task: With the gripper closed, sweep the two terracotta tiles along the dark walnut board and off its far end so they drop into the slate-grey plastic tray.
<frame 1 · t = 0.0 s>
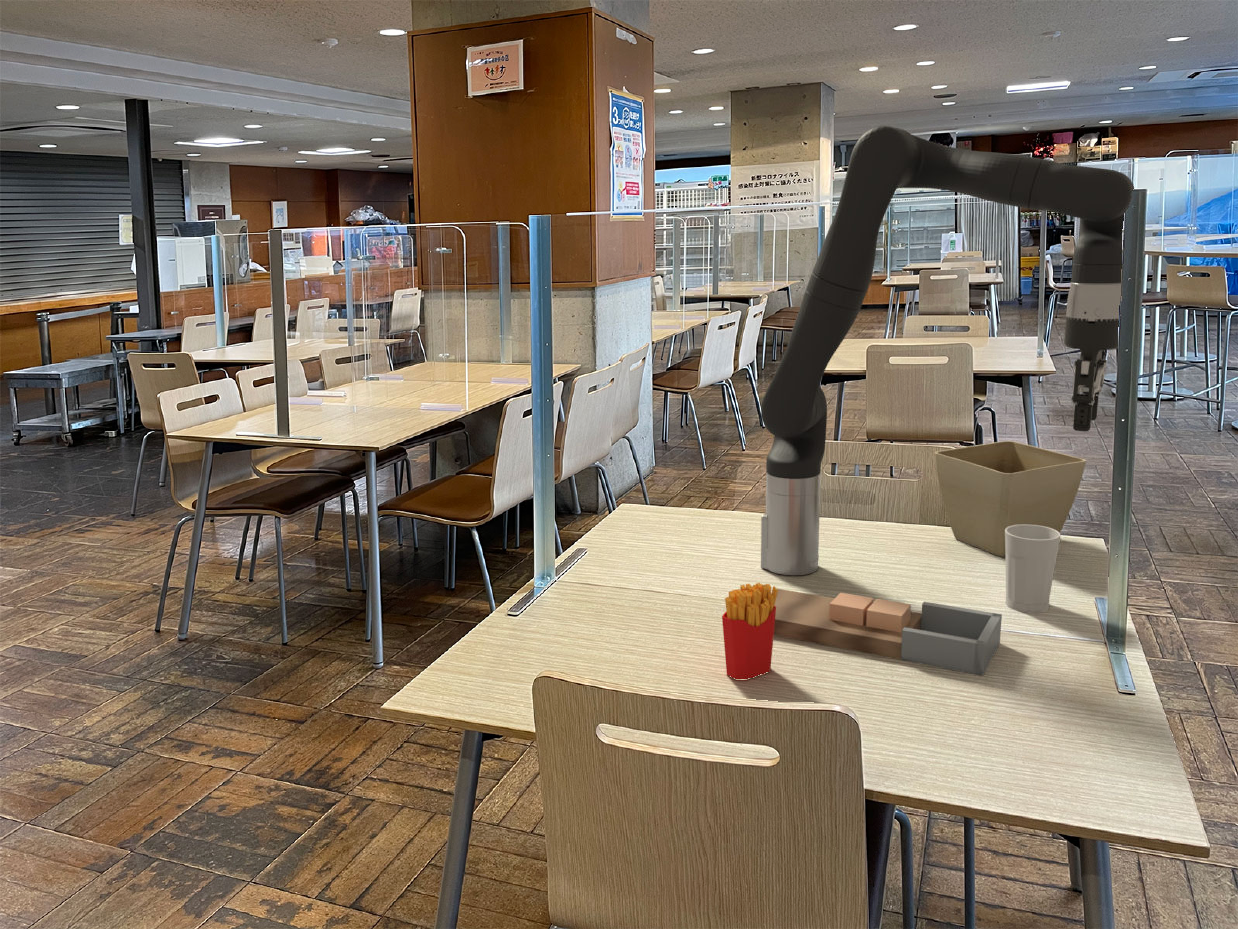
hand: (1084, 425, 150), 29 cm above the table, fingers open, 8 cm apart
tile b: (888, 623, 147), point 2 cm above the table, touching board
cup: (1026, 606, 160), on the table
french fries: (750, 672, 139), on the table
board: (834, 629, 152), on the table
flower pot: (1002, 544, 189), on the table
tile a: (851, 616, 150), point 2 cm above the table, touching board
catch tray: (950, 651, 143), on the table
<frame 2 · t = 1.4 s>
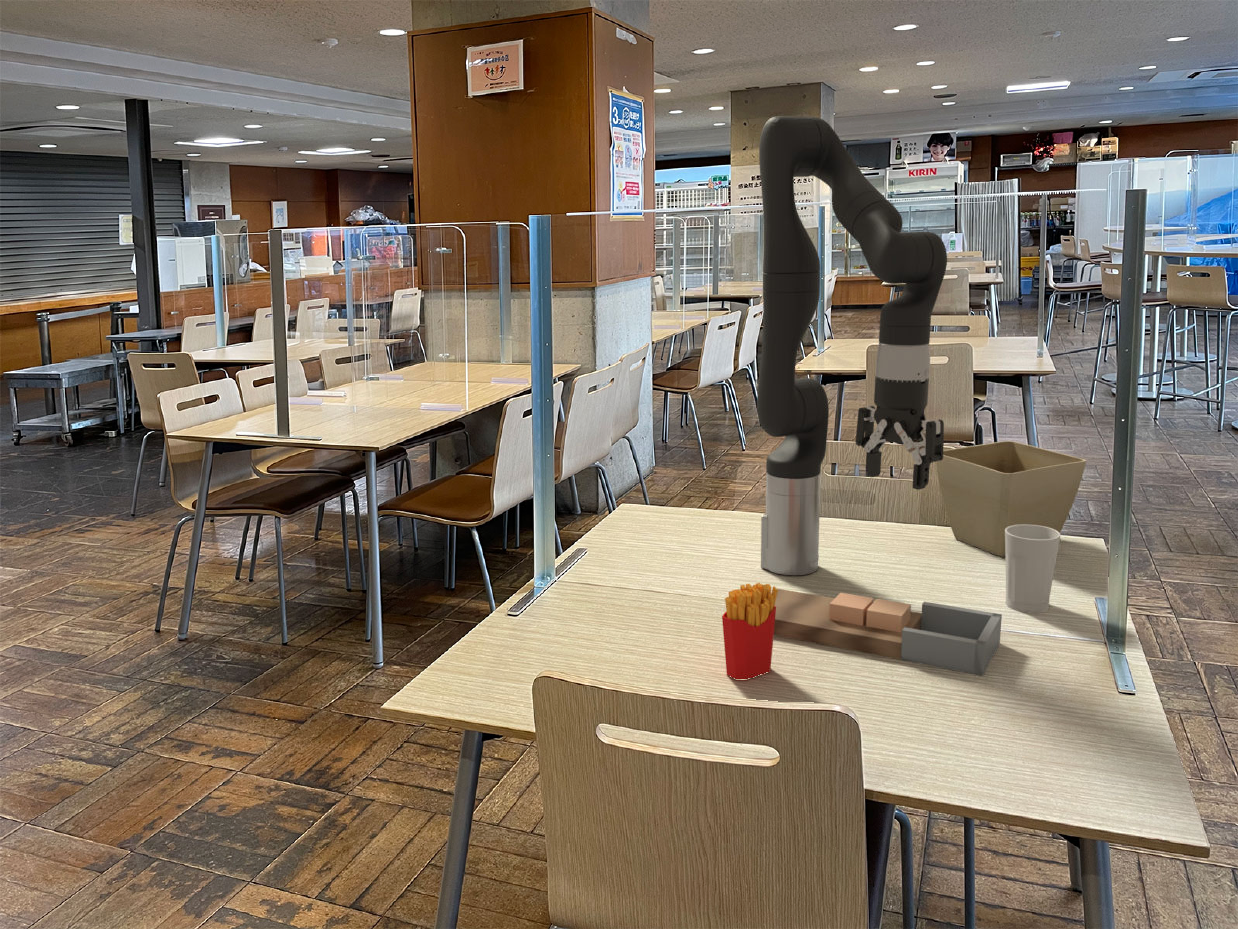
hand: (896, 482, 151), 21 cm above the table, fingers open, 8 cm apart
nothing on the table moved.
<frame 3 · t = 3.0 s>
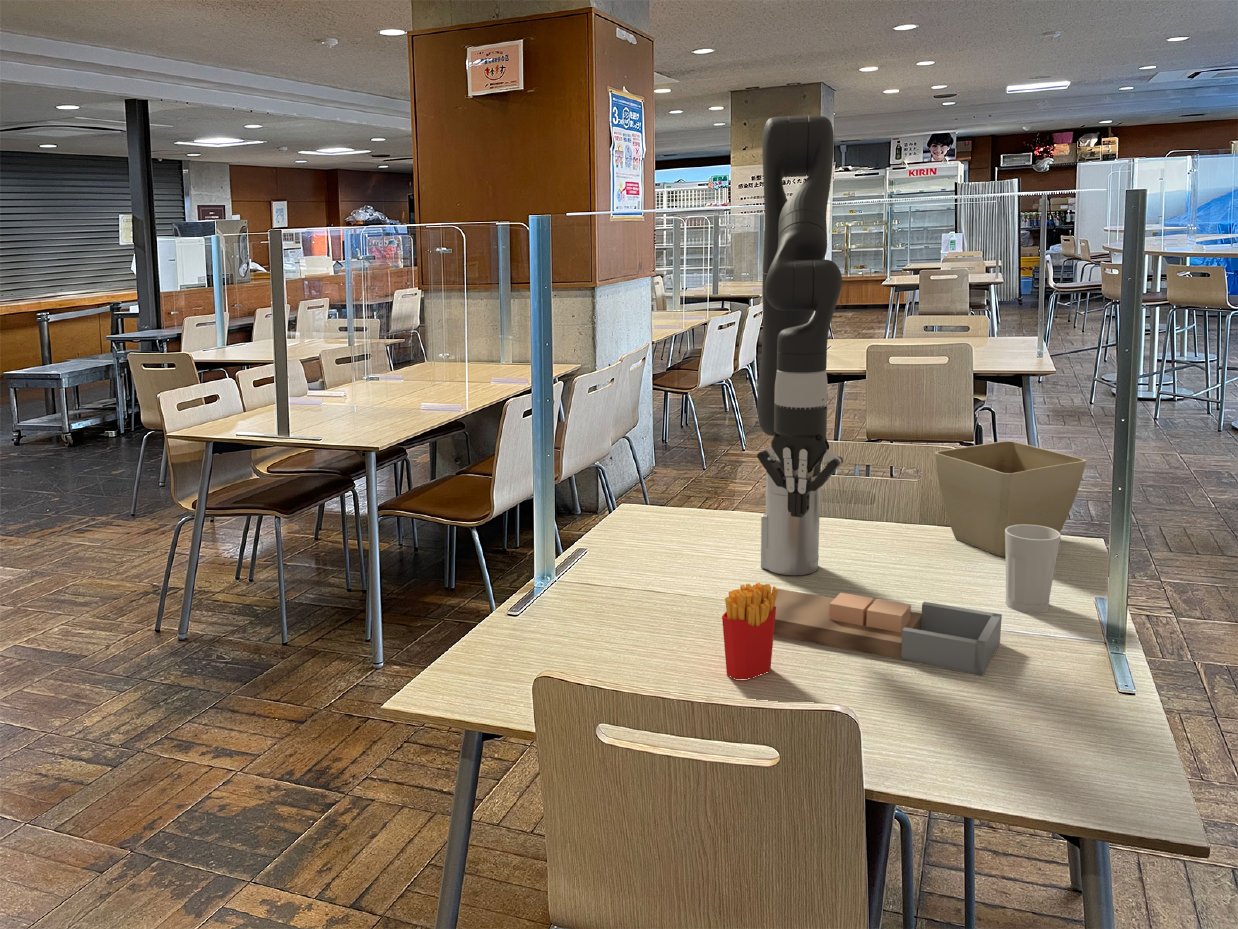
hand: (798, 515, 151), 17 cm above the table, fingers closed
nothing on the table moved.
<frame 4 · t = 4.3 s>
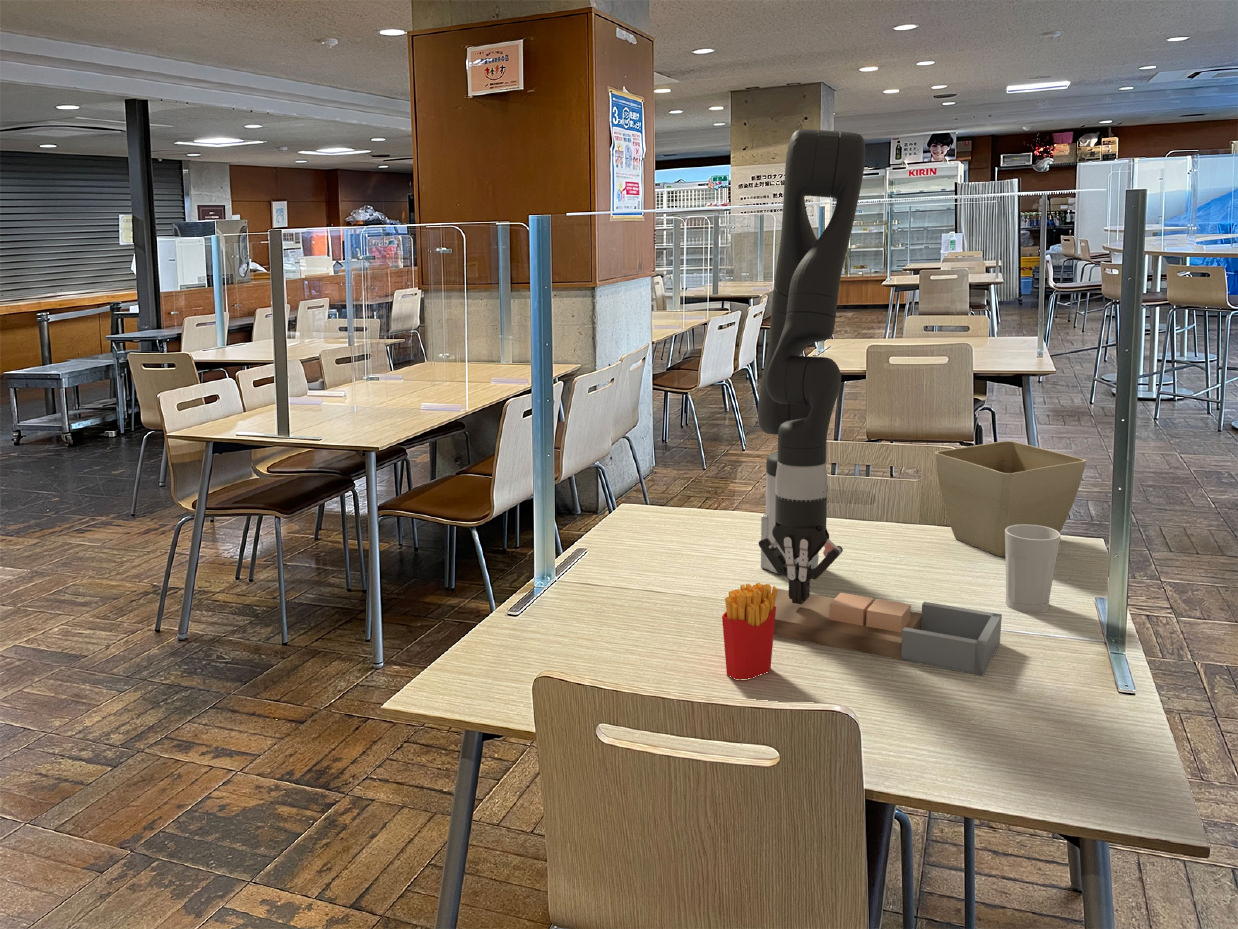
hand: (799, 602, 154), 3 cm above the table, fingers closed
nothing on the table moved.
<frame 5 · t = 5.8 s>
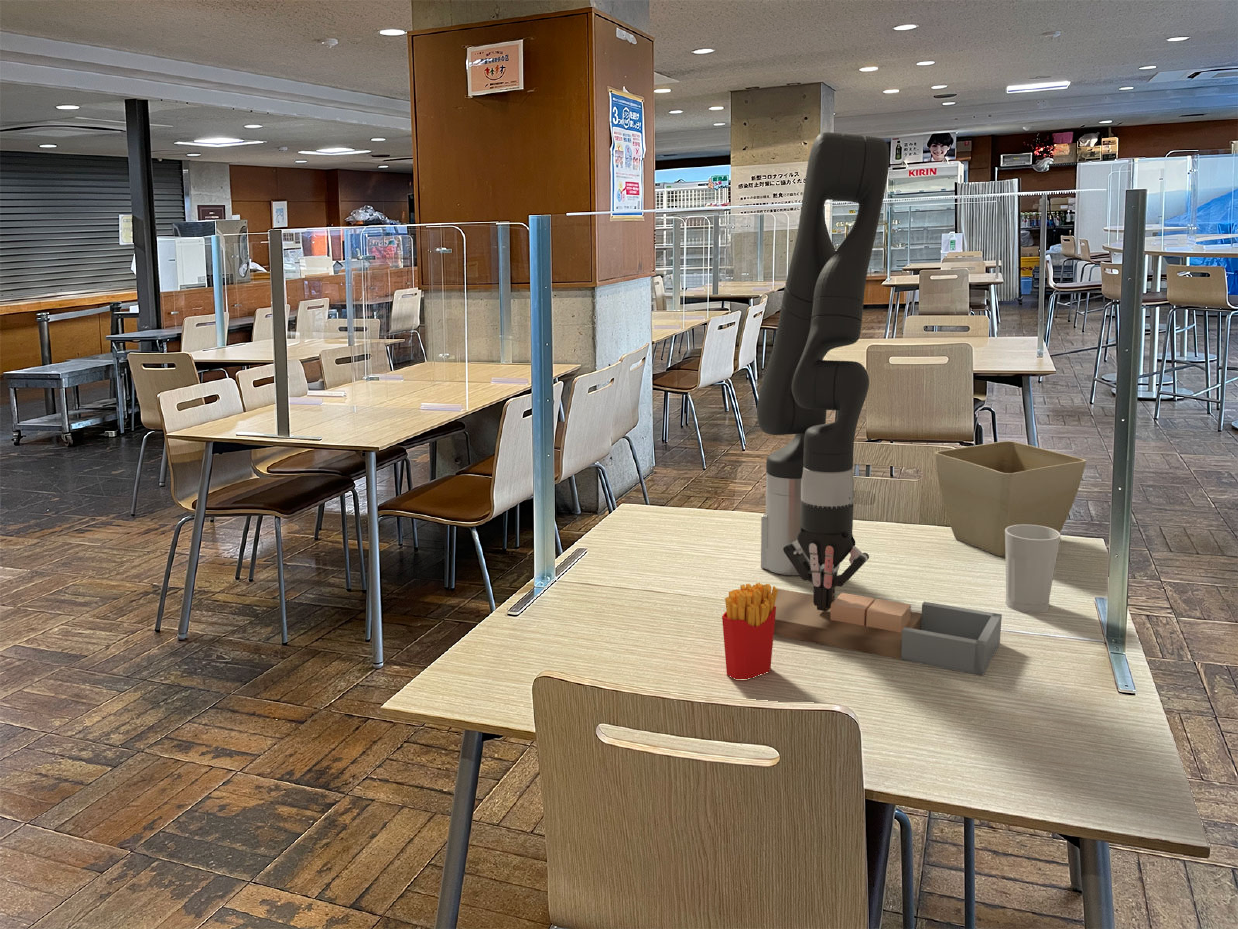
hand: (824, 609, 152), 3 cm above the table, fingers closed
tile a: (852, 616, 150), point 3 cm above the table, touching gripper
everything else where it was.
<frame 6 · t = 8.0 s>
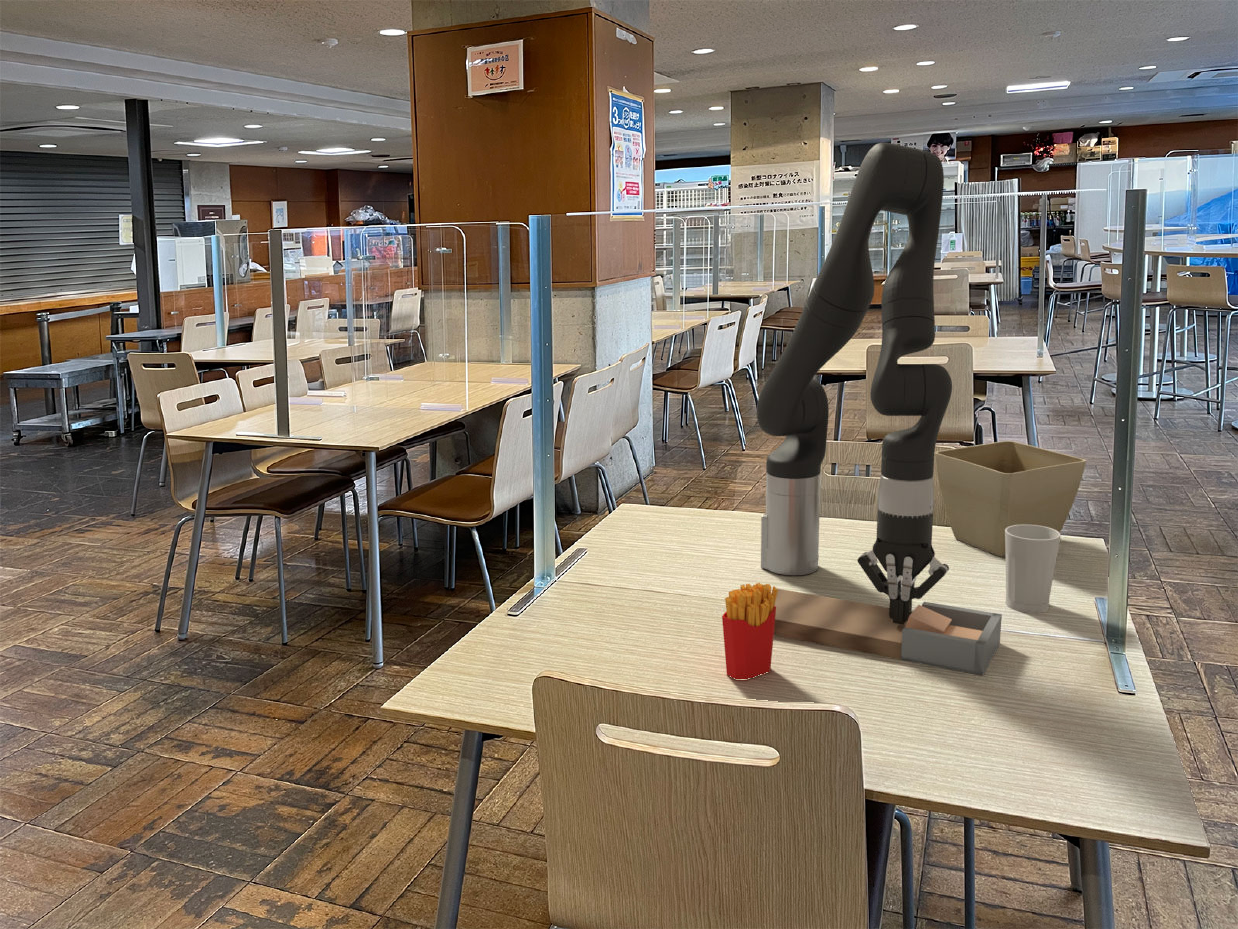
hand: (900, 622, 146), 3 cm above the table, fingers closed
tile b: (962, 651, 143), resting on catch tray, touching tile a
tile a: (924, 632, 145), point 2 cm above the table, tilted 16°, touching board, gripper, tile b
everything else where it was.
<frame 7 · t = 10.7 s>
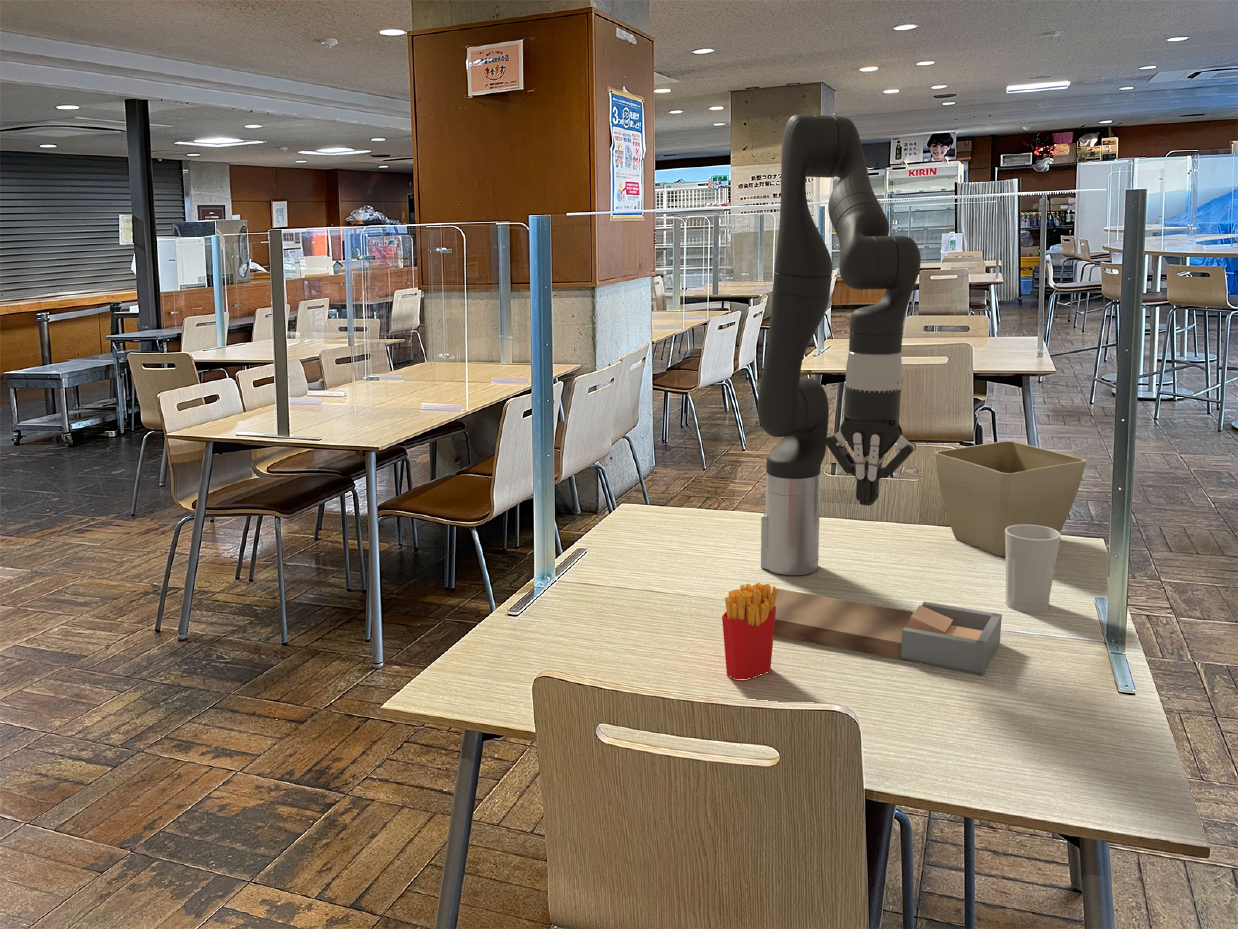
hand: (867, 503, 145), 20 cm above the table, fingers closed
tile a: (926, 633, 145), point 2 cm above the table, tilted 16°, touching board, tile b
everything else where it was.
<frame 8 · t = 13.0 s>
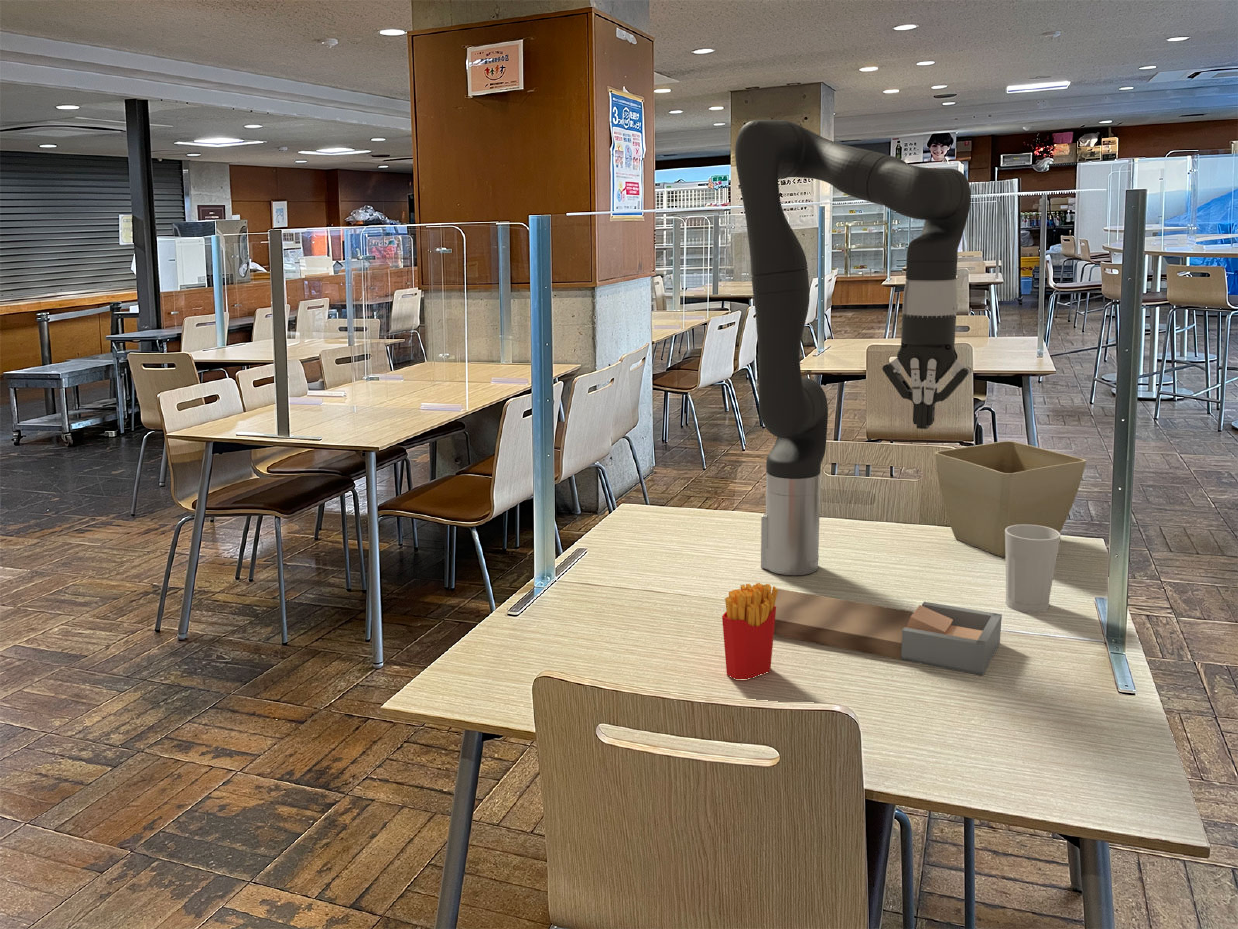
hand: (923, 427, 152), 29 cm above the table, fingers closed
nothing on the table moved.
at the end: tile a inside the target area on the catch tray (3.9 cm from its centre), point 2.0 cm above the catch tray's base; tile b inside the target area on the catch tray (1.6 cm from its centre), point 0.4 cm above the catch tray's base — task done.
